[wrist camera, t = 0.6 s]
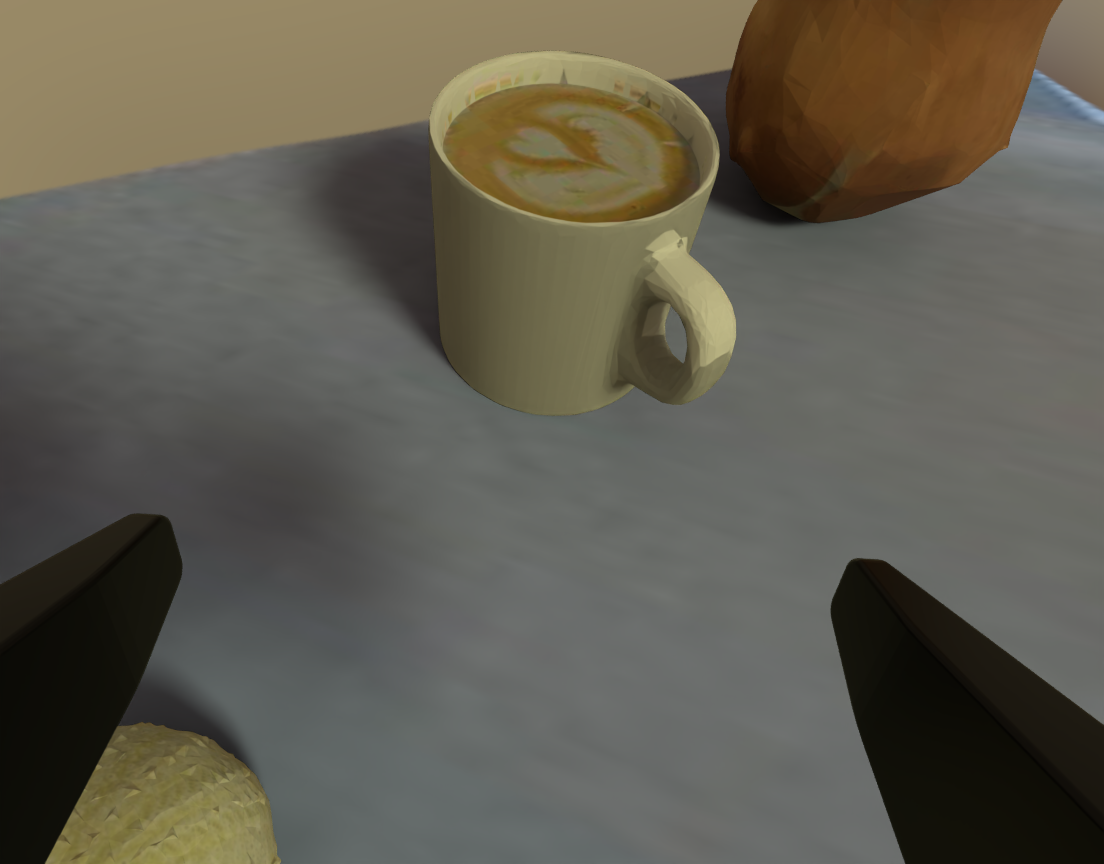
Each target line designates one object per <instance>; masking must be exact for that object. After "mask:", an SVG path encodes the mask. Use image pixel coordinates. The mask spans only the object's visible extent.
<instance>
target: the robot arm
mask: <svg viewBox="0 0 1104 864" xmlns="http://www.w3.org/2000/svg"><path fill="white" fill-rule="evenodd" d="M181 576H182V559H181V556H180V552H179V549H178V545H177V542H176V538H175V535H174V531H173V528H172V525H171V522H170V521H169V519H168V518H167V517H165V516H163V515H155V514H139V513H137V514H131V515H128V516H126V517H124V518H122V519H120V520H119V521H117V522H115V523H113V524H111V525H109V526H107V527H106V528H104V529H102V530H100V531H98V532H96V533H95V534H93V535H91V536H89V537H87V538H85V539H83V540H82V541H80V542H78V543H76V544H74V545H72V546H71V547H69V548H67V549H65V550H63V551H61V552H60V553H58V554H56V555H54V556H52V557H50V558H48V559H47V560H45V561H43V562H41V563H39V564H37V565H36V566H34V567H32V568H30V569H28V570H26V571H24V572H23V573H21V574H19V575H17V576H15V577H13V578H12V579H10V580H8V581H6V582H4V583H2V584H0V864H45V863H46V861H47V859H48V857H49V855H50V854H51V852H52V850H53V848H54V846H55V844H56V842H57V840H58V838H59V836H60V835H61V833H62V831H63V829H64V827H65V825H66V823H67V821H68V819H69V817H70V816H71V814H72V812H73V810H74V808H75V806H76V804H77V802H78V800H79V798H80V797H81V795H82V793H83V791H84V789H85V787H86V785H87V783H88V781H89V780H90V778H91V776H92V774H93V772H94V770H95V768H96V766H97V764H98V762H99V761H100V759H101V757H102V755H103V753H104V751H105V749H106V747H107V745H108V743H109V742H110V740H111V738H112V736H113V734H114V732H115V730H116V728H117V726H118V724H119V723H120V721H121V719H122V717H123V715H124V713H125V711H126V709H127V707H128V705H129V703H130V701H131V699H132V697H133V695H134V693H135V691H136V689H137V687H138V685H139V683H140V680H141V678H142V676H143V673H144V671H145V669H146V666H147V664H148V661H149V659H150V656H151V654H152V651H153V649H154V646H155V643H156V641H157V638H158V636H159V633H160V631H161V628H162V626H163V623H164V621H165V618H166V616H167V613H168V611H169V608H170V605H171V603H172V600H173V598H174V595H175V593H176V590H177V588H178V585H179V583H180V580H181ZM831 619H832V624H833V628H834V632H835V636H836V641H837V645H838V649H839V653H840V658H841V662H842V666H843V671H844V675H845V679H846V683H847V688H848V692H849V696H850V700H851V705H852V709H853V712H854V716H855V720H856V724H857V727H858V730H859V733H860V736H861V739H862V742H863V745H864V748H865V751H866V753H867V756H868V759H869V762H870V765H871V768H872V770H873V773H874V776H875V779H876V782H877V785H878V788H879V790H880V793H881V796H882V799H883V802H884V805H885V807H886V810H887V813H888V816H889V819H890V822H891V825H892V827H893V830H894V833H895V836H896V839H897V842H898V844H899V847H900V850H901V853H902V856H903V859H904V861H905V864H1104V725H1103V724H1102V723H1100V722H1099V721H1098V720H1096V719H1095V718H1094V717H1092V716H1091V715H1090V714H1088V713H1087V712H1086V711H1084V710H1083V709H1082V708H1080V707H1079V706H1078V705H1076V704H1075V703H1074V702H1072V701H1071V700H1070V699H1068V698H1067V697H1066V696H1064V695H1063V694H1062V693H1060V692H1059V691H1058V690H1056V689H1055V688H1054V687H1052V686H1051V685H1050V684H1048V683H1047V682H1046V681H1044V680H1043V679H1042V678H1040V677H1039V676H1038V675H1036V674H1035V673H1034V672H1032V671H1031V670H1030V669H1028V668H1027V667H1026V666H1024V665H1023V664H1022V663H1021V662H1019V661H1018V660H1017V659H1015V658H1014V657H1013V656H1011V655H1010V654H1009V653H1007V652H1006V651H1005V650H1003V649H1002V648H1001V647H999V646H998V645H997V644H995V643H994V642H993V641H991V640H990V639H989V638H987V637H986V636H985V635H983V634H982V633H981V632H979V631H978V630H977V629H975V628H974V627H973V626H971V625H970V624H969V623H967V622H966V621H965V620H963V619H962V618H961V617H959V616H958V615H957V614H955V613H954V612H953V611H951V610H950V609H949V608H947V607H946V606H945V605H943V604H942V603H941V602H939V601H938V600H937V599H935V598H934V597H933V596H931V595H930V594H929V593H927V592H926V591H925V590H923V589H922V588H921V587H919V586H918V585H917V584H915V583H914V582H913V581H911V580H910V579H909V578H907V577H906V576H905V575H903V574H902V573H901V572H899V571H898V570H897V569H895V568H894V567H893V566H891V565H890V564H888V563H887V562H885V561H883V560H879V559H863V558H856V559H853V560H851V561H850V562H849V563H848V565H847V566H846V569H845V571H844V573H843V576H842V578H841V580H840V583H839V585H838V587H837V590H836V592H835V594H834V597H833V599H832V603H831Z"/></svg>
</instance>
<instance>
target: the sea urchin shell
mask: <svg viewBox="0 0 1104 864" xmlns="http://www.w3.org/2000/svg"><path fill="white" fill-rule="evenodd" d="M280 862H281V860H280V859H279V857H278V856H277V844H276V842H275V837H274V833H273V825H272V816H271V809H270V804H269V800H268V798H267V796H266V794H265V792H264V790H263V788H262V786H261V784H260V782H259V780H258V779H257V777H256V775H255V774H254V773H253V772H252V771H251V770H250V769H249V768H248V767H247V766H246V765H245V764H244V763H243V762H241V761H240V760H238V759H236V758H235V757H234V755H233V754H230V753H228V752H226V751H225V750H224V749H222V748H221V747H220V746H219V745H218V744H217V743H216V742H215V741H214V740H212V739H208V737H206V736H201V735H198V734H196V733H194V732H189V731H177V730H173V729H169V728H166V727H165V726H164V725H160V726H155V725H153V724H152V723H150V722H149V723H146V724H144V723H143V722H141V723H138V724H135V725H131V726H117V728H116V730H115V732H114V734H113V736H112V738H111V740H110V742H109V743H108V745H107V747H106V749H105V751H104V753H103V755H102V757H101V759H100V761H99V762H98V764H97V766H96V768H95V770H94V772H93V774H92V776H91V778H90V780H89V781H88V783H87V785H86V787H85V789H84V791H83V793H82V795H81V797H80V798H79V800H78V802H77V804H76V806H75V808H74V810H73V812H72V814H71V816H70V817H69V819H68V821H67V823H66V825H65V827H64V829H63V831H62V833H61V835H60V836H59V838H58V840H57V842H56V844H55V846H54V848H53V850H52V852H51V854H50V855H49V857H48V859H47V861H46V863H45V864H280Z"/></svg>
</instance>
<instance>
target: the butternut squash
mask: <svg viewBox="0 0 1104 864" xmlns="http://www.w3.org/2000/svg"><path fill="white" fill-rule="evenodd" d="M1061 2H1062V0H758V1H757V3H756V4H755V5H754V7H753V9H752V11H751V13H750V15H749V18H748V20H747V22H746V25H745V27H744V30H743V33H742V35H741V38H740V41H739V45H738V49H737V52H736V56H735V60H734V64H733V68H732V72H731V76H730V80H729V84H728V87H727V92H726V118H727V123H728V129H729V134H730V146H729V154H730V158H731V160H732V161H734V162H736V163H737V164H738V165H740V166H741V167H742V169H743V170H744V171H745V173H746V174H747V176H748V177H749V179H750V180H751V182H752V183H753V185H754V187H755V189H756V190H757V192H758V193H759V195H760V197H761V198H762V200H764V201H766V202H768V203H770V204H772V205H774V206H775V207H777V208H779V209H781V210H783V211H785V212H787V213H789V214H791V215H793V216H795V217H797V218H799V219H801V220H804V221H807V222H813V223H823V222H831V221H838V220H846V219H853V218H859V217H862V216H866V215H869V214H873V213H876V212H878V211H881V210H884V209H887V208H890V207H893V206H896V205H899V204H901V203H904V202H907V201H910V200H913V199H916V198H919V197H921V196H924V195H927V194H930V193H933V192H936V191H939V190H942V189H944V188H947V187H950V186H953V185H956V184H959V183H960V182H962V181H963V180H964V179H965V178H966V177H968V176H969V175H970V174H971V173H972V172H974V171H975V170H976V169H977V168H978V167H979V166H981V165H982V164H983V163H984V162H985V161H987V160H988V159H989V158H991V157H992V156H993V155H994V154H996V153H997V152H998V151H1000V150H1003V149H1005V148H1008V145H1009V141H1010V136H1011V133H1012V131H1013V128H1014V126H1015V124H1016V121H1017V119H1018V117H1019V114H1020V111H1021V108H1022V105H1023V102H1024V99H1025V96H1026V93H1027V90H1028V87H1029V84H1030V82H1031V79H1032V75H1033V71H1034V68H1035V64H1036V60H1037V57H1038V53H1039V49H1040V47H1041V44H1042V40H1043V37H1044V35H1045V32H1046V29H1047V27H1048V24H1049V22H1050V20H1051V18H1052V17H1053V15H1054V13H1055V12H1056V10H1057V8H1058V6H1059V5H1060V3H1061Z"/></svg>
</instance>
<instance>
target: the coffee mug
mask: <svg viewBox="0 0 1104 864" xmlns="http://www.w3.org/2000/svg"><path fill="white" fill-rule="evenodd" d="M428 130H429V153H430V170H431V188H432V205H433V222H434V240H435V257H436V275H437V292H438V310H439V327H440V338H441V343H442V346H443V348H444V351H445V353H446V355H447V358H448V360H449V362H450V363H451V365H452V366H453V368H454V369H455V371H456V372H457V373H458V374H459V375H460V376H461V377H462V378H463V379H464V380H465V381H466V382H467V383H468V384H469V385H470V386H471V387H472V388H473V389H475V390H476V391H477V392H479V393H481V394H482V395H484V396H486V397H487V398H489V399H491V400H493V401H494V402H496V403H498V404H500V405H503V406H505V407H509V408H512V409H515V410H518V411H521V412H526V413H531V414H536V415H550V416H561V415H576V414H580V413H585V412H589V411H593V410H596V409H599V408H601V407H604V406H606V405H608V404H610V403H612V402H614V401H616V400H618V399H619V398H621V397H622V396H624V395H625V394H627V393H628V392H629V391H630V390H631V389H633V388H634V387H637V388H638V389H640V390H642V391H643V392H645V393H647V394H648V395H650V396H652V397H654V398H655V399H657V400H659V401H660V402H663V403H667V404H672V405H681V404H684V403H687V402H690V401H692V400H694V399H696V398H698V397H700V396H702V395H703V394H704V393H705V392H707V391H708V390H709V389H710V388H711V387H712V386H713V385H714V384H715V383H716V382H717V381H718V379H719V378H720V377H721V376H722V375H723V373H724V372H725V370H726V367H727V365H728V363H729V361H730V358H731V355H732V351H733V347H734V343H735V339H736V319H735V316H734V312H733V308H732V305H731V303H730V301H729V299H728V297H727V296H726V294H725V292H724V290H723V289H722V287H721V286H720V285H719V283H718V282H717V281H716V280H715V279H714V278H713V277H712V275H711V274H710V273H709V272H708V271H707V270H706V269H704V268H703V267H702V266H701V265H700V264H699V263H698V262H697V261H696V260H694V259H693V258H692V257H691V256H690V255H689V253H690V250H691V247H692V244H693V241H694V239H695V236H696V233H697V230H698V227H699V224H700V222H701V219H702V216H703V213H704V210H705V207H706V205H707V202H708V199H709V196H710V193H711V190H712V187H713V185H714V182H715V178H716V175H717V171H718V167H719V155H720V152H719V144H718V140H717V136H716V134H715V132H714V130H713V128H712V126H711V124H710V122H709V120H708V118H707V117H706V116H705V114H704V113H703V112H702V110H701V109H700V108H699V107H698V106H697V105H696V104H695V103H694V102H693V101H692V100H691V99H690V98H689V97H688V96H686V95H685V94H684V93H683V92H682V91H680V90H679V89H677V88H676V87H674V86H673V85H672V84H670V83H668V82H667V81H665V80H663V79H661V78H659V77H657V76H655V75H654V74H652V73H650V72H648V71H645V70H643V69H641V68H638V67H636V66H633V65H630V64H626V63H623V62H620V61H617V60H614V59H611V58H606V57H601V56H597V55H592V54H586V53H578V52H568V51H535V52H523V53H515V54H510V55H506V56H502V57H497V58H493V59H490V60H488V61H485V62H482V63H480V64H477V65H475V66H473V67H471V68H469V69H467V70H465V71H464V72H462V73H461V74H459V75H458V76H456V77H455V78H454V79H452V80H451V81H450V82H449V83H448V84H447V85H446V86H445V87H444V88H443V89H442V91H441V92H440V93H439V95H438V96H437V98H436V100H435V101H434V103H433V106H432V109H431V113H430V119H429V128H428ZM671 306H672V307H673V309H674V310H675V311H676V312H677V313H678V315H679V316H680V318H681V321H682V323H683V325H684V328H685V330H686V337H687V352H686V357H685V362H684V364H683V363H682V362H680V361H679V360H678V359H677V358H676V357H675V356H674V355H673V354H672V353H671V351H670V348H669V346H668V344H667V342H666V340H665V321H666V318H667V315H668V312H669V310H670V307H671Z"/></svg>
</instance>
